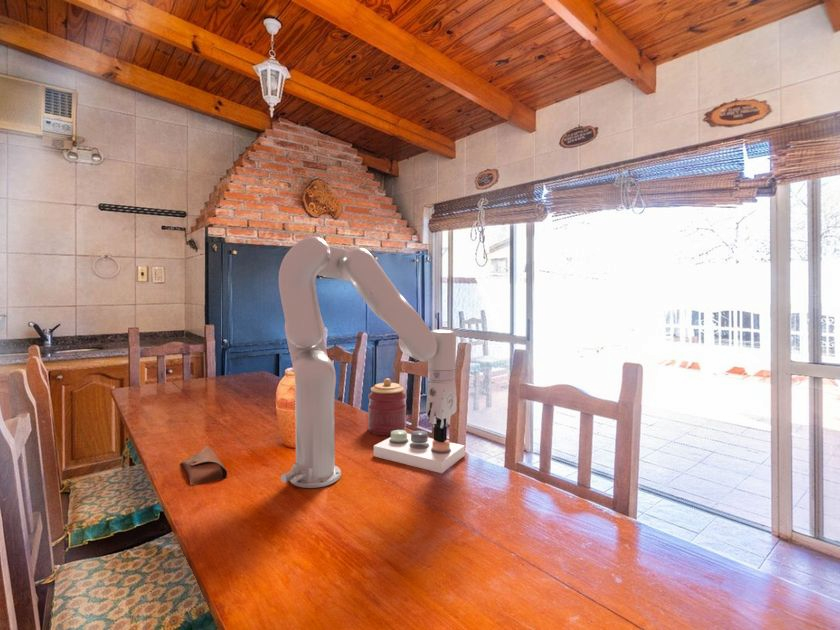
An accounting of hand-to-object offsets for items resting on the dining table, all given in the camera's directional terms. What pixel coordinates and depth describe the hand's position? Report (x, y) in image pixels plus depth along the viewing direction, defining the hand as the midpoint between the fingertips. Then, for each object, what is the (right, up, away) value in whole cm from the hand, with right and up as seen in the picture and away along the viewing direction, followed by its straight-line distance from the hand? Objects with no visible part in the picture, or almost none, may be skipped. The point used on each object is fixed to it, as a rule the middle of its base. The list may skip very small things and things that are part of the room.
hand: (440, 440), depth 120 cm
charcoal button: (-6, -1, +4) cm, 7 cm away
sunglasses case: (-63, -7, -7) cm, 63 cm away
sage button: (-12, -2, +7) cm, 14 cm away
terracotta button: (0, -2, 0) cm, 2 cm away
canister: (-17, -4, +27) cm, 32 cm away
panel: (-6, -6, +4) cm, 9 cm away
